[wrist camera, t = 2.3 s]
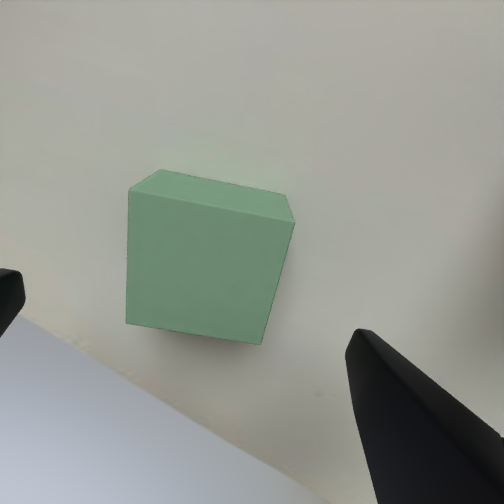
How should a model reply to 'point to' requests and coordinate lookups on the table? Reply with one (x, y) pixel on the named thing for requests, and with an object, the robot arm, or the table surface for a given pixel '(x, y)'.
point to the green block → (204, 256)
